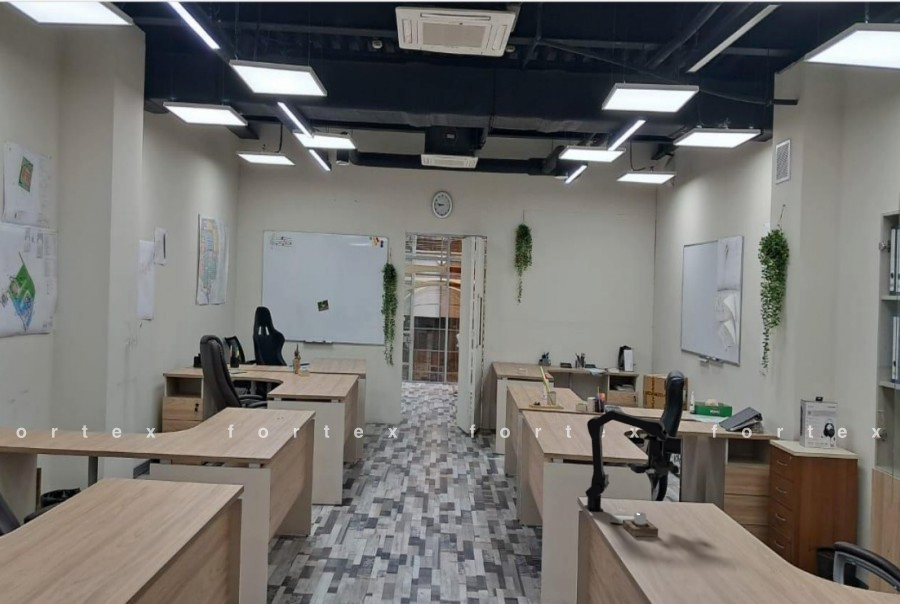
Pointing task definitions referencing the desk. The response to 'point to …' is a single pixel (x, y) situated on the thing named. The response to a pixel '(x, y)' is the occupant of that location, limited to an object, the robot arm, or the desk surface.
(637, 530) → the frame
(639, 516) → the metal cylinder
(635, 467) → the robot arm
